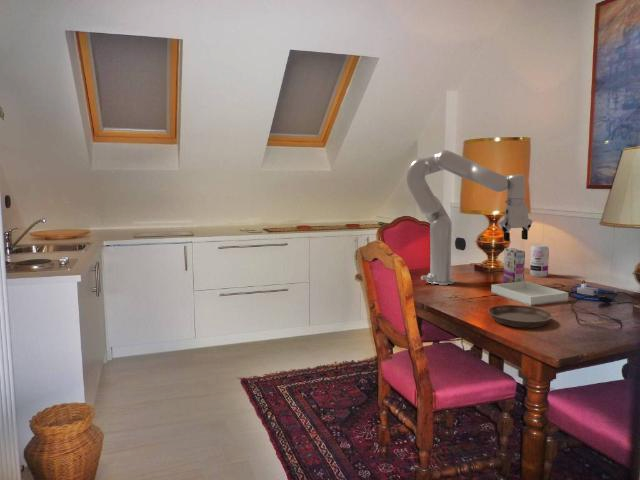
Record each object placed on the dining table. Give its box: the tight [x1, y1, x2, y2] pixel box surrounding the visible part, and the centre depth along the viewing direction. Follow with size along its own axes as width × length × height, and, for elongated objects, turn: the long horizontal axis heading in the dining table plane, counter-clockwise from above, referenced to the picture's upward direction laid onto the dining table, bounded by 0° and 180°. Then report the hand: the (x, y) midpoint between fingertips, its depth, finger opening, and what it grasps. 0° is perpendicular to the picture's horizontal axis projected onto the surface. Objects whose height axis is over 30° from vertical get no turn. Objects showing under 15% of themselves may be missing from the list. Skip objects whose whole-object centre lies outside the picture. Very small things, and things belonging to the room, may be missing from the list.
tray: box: [490, 280, 569, 307], centre depth 211 cm, size 18×24×4 cm
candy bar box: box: [502, 247, 526, 284], centre depth 231 cm, size 11×5×16 cm, turn 5°
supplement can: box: [529, 244, 550, 278], centre depth 251 cm, size 8×8×15 cm
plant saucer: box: [488, 304, 553, 329], centre depth 178 cm, size 21×21×3 cm
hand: (515, 240), depth 230 cm, fingers open, 9 cm apart
